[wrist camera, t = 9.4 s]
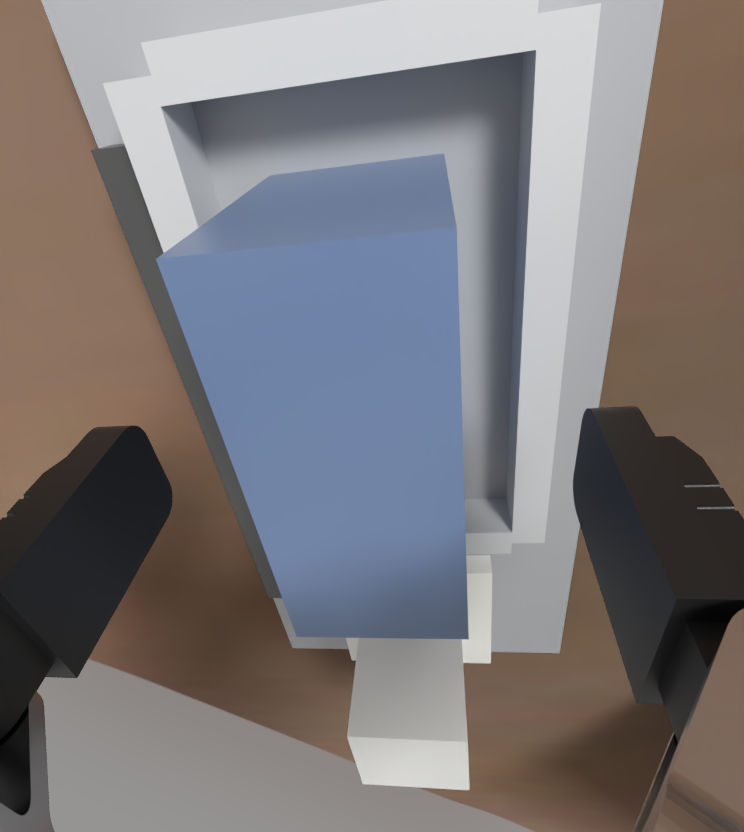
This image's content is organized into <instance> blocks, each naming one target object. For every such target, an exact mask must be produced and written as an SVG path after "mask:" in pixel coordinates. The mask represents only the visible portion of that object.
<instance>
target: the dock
mask: <svg viewBox="0 0 744 832" xmlns="http://www.w3.org/2000/svg"><path fill="white" fill-rule="evenodd" d="M41 1H42V4H43V6H44V9H45V11H46V14H47V16H48V19H49V22H50V24H51V27H52V29H53V32H54V34H55V37H56V40H57V42H58V45H59V47H60V50H61V53H62V55H63V58H64V60H65V63H66V65H67V68H68V71H69V73H70V76H71V78H72V81H73V83H74V86H75V89H76V91H77V94H78V96H79V99H80V101H81V104H82V107H83V109H84V112H85V114H86V117H87V120H88V122H89V125H90V127H91V130H92V132H93V135H94V138H95V140H96V143H97V145H98V149H94V150H91V152H92V154H93V157H94V159H95V162H96V164H97V167H98V169H99V172H100V174H101V177H102V179H103V182H104V184H105V187H106V189H107V192H108V194H109V197H110V200H111V202H112V205H113V207H114V210H115V212H116V215H117V217H118V220H119V222H120V225H121V227H122V230H123V232H124V235H125V237H126V240H127V242H128V245H129V247H130V250H131V252H132V255H133V257H134V260H135V263H136V265H137V268H138V270H139V273H140V275H141V278H142V280H143V283H144V285H145V288H146V290H147V293H148V295H149V298H150V300H151V303H152V305H153V308H154V310H155V313H156V315H157V318H158V321H159V323H160V326H161V328H162V331H163V333H164V336H165V338H166V341H167V343H168V346H169V348H170V351H171V353H172V356H173V358H174V361H175V363H176V366H177V368H178V371H179V373H180V376H181V379H182V381H183V384H184V386H185V389H186V391H187V394H188V396H189V399H190V401H191V404H192V406H193V409H194V411H195V414H196V416H197V419H198V421H199V424H200V426H201V429H202V431H203V434H204V437H205V439H206V442H207V444H208V447H209V449H210V452H211V454H212V457H213V459H214V462H215V464H216V467H217V469H218V472H219V474H220V477H221V479H222V482H223V484H224V487H225V489H226V492H227V495H228V497H229V500H230V502H231V505H232V507H233V510H234V512H235V515H236V517H237V520H238V522H239V525H240V527H241V530H242V532H243V535H244V537H245V540H246V542H247V545H248V547H249V550H250V552H251V555H252V558H253V560H254V563H255V565H256V568H257V570H258V573H259V575H260V578H261V580H262V583H263V585H264V588H265V590H266V593H267V595H268V598H273V599H274V601H275V604H276V607H277V609H278V612H279V614H280V617H281V619H282V622H283V625H284V627H285V630H286V632H287V635H288V638H289V640H290V643H291V645H292V648H311V649H349V652H350V656H351V659H352V660H356V665H355V673H354V682H353V690H352V698H351V707H350V715H349V724H348V732H347V738H348V741H349V744H350V747H351V750H352V753H353V756H354V759H355V762H356V765H357V768H358V771H359V774H360V777H361V779H362V783H363V784H371V785H388V786H405V787H422V788H439V789H456V790H469V763H468V738H467V721H466V703H465V686H464V669H463V663H491V652H526V653H560V647H561V641H562V634H563V628H564V622H565V616H566V609H567V603H568V597H569V590H570V584H571V578H572V572H573V565H574V559H575V553H576V547H577V540H578V534H579V528H580V523H579V520H578V517H577V513H576V509H575V504H574V497H573V476H574V469H575V462H576V456H577V449H578V443H579V436H580V430H581V423H582V418H583V414H584V412H585V410H586V409H587V408H599V403H600V396H601V390H602V384H603V377H604V371H605V365H606V359H607V352H608V346H609V340H610V334H611V327H612V321H613V315H614V309H615V302H616V296H617V290H618V284H619V277H620V271H621V265H622V258H623V252H624V246H625V240H626V233H627V227H628V221H629V215H630V208H631V202H632V196H633V190H634V183H635V177H636V171H637V164H638V158H639V152H640V146H641V139H642V133H643V127H644V121H645V114H646V108H647V102H648V96H649V89H650V83H651V77H652V71H653V64H654V58H655V52H656V45H657V39H658V33H659V27H660V20H661V14H662V8H663V2H664V0H41ZM443 153H444V156H445V162H446V168H447V174H448V179H449V185H450V191H451V197H452V203H453V209H454V215H455V220H456V226H457V254H458V289H459V323H460V357H461V392H462V426H463V461H464V495H465V529H466V564H467V598H468V633H469V639H409V638H341V637H297V636H296V634H295V631H294V628H293V626H292V623H291V620H290V618H289V615H288V612H287V610H286V607H285V604H284V601H283V599H282V596H281V593H280V591H279V588H278V585H277V583H276V580H275V577H274V575H273V572H272V569H271V567H270V564H269V561H268V559H267V556H266V553H265V550H264V548H263V545H262V542H261V540H260V537H259V534H258V532H257V529H256V526H255V524H254V521H253V518H252V516H251V513H250V510H249V508H248V505H247V502H246V500H245V497H244V494H243V491H242V489H241V486H240V483H239V481H238V478H237V475H236V473H235V470H234V467H233V465H232V462H231V459H230V457H229V454H228V451H227V449H226V446H225V443H224V441H223V438H222V435H221V432H220V430H219V427H218V424H217V422H216V419H215V416H214V414H213V411H212V408H211V406H210V403H209V400H208V398H207V395H206V392H205V390H204V387H203V384H202V382H201V379H200V376H199V373H198V371H197V368H196V365H195V363H194V360H193V357H192V355H191V352H190V349H189V347H188V344H187V341H186V339H185V336H184V333H183V331H182V328H181V325H180V322H179V320H178V317H177V314H176V312H175V309H174V306H173V304H172V301H171V298H170V296H169V293H168V290H167V288H166V285H165V282H164V280H163V277H162V274H161V272H160V269H159V266H158V263H157V261H156V258H158V257H159V256H161V255H162V254H163V253H165V252H166V251H167V250H169V249H170V248H172V247H173V246H174V245H176V244H177V243H178V242H180V241H181V240H182V239H184V238H185V237H187V236H188V235H189V234H191V233H192V232H193V231H195V230H196V229H197V228H199V227H200V226H202V225H203V224H204V223H206V222H207V221H208V220H210V219H211V218H212V217H214V216H215V215H217V214H218V213H219V212H221V211H222V210H223V209H225V208H226V207H227V206H229V205H230V204H232V203H233V202H234V201H236V200H237V199H238V198H240V197H241V196H242V195H244V194H245V193H247V192H248V191H249V190H251V189H252V188H253V187H255V186H256V185H257V184H259V183H260V182H262V181H263V180H264V179H266V178H267V177H268V176H270V175H277V174H285V173H293V172H301V171H308V170H316V169H324V168H332V167H340V166H348V165H356V164H364V163H372V162H380V161H388V160H396V159H403V158H411V157H419V156H427V155H435V154H443Z"/></svg>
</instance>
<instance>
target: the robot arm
mask: <svg viewBox="0 0 744 832" xmlns="http://www.w3.org/2000/svg"><path fill="white" fill-rule="evenodd" d="M573 497H574V504H575V509H576V513H577V517H578V520H579V523H580V526H581V529H582V532H583V536H584V539H585V542H586V545H587V548H588V552H589V555H590V558H591V561H592V564H593V567H594V571H595V574H596V577H597V580H598V583H599V586H600V590H601V593H602V596H603V599H604V602H605V606H606V609H607V612H608V615H609V618H610V621H611V625H612V628H613V631H614V634H615V637H616V640H617V644H618V647H619V650H620V653H621V656H622V660H623V663H624V666H625V669H626V672H627V675H628V679H629V682H630V685H631V688H632V691H633V694H634V698H635V701H636V703H642V704H664V706H665V708H666V711H667V714H668V717H669V720H670V722H671V725H672V728H673V731H674V732H673V734H672V736H671V737H670V740H669V742H668V745H667V747H666V750H665V752H664V755H663V757H662V760H661V762H660V764H659V767H658V769H657V772H656V774H655V777H654V779H653V782H652V784H651V787H650V789H649V791H648V794H647V796H646V799H645V801H644V804H643V806H642V809H641V811H640V814H639V816H638V818H637V821H636V823H635V826H634V828H633V831H632V832H744V519H743V517H742V516H741V514H740V513H739V511H735V510H734V504H733V502H732V501H731V499H730V498H729V496H728V495H727V493H726V492H725V490H724V489H723V488H720V487H719V482H718V480H717V479H716V477H715V476H714V474H713V473H712V471H711V470H710V468H709V467H708V465H707V464H706V462H705V461H704V459H703V458H702V457H701V456H700V455H699V454H697V453H696V452H694V451H693V450H692V449H690V448H689V447H688V446H686V445H685V444H684V443H682V442H681V441H680V440H678V439H677V438H675V437H674V436H664V437H655V435H654V433H653V431H652V430H651V428H650V426H649V425H648V423H647V421H646V419H645V418H644V416H643V414H642V413H641V411H640V410H639V409H638V408H637V407H609V408H587V409H586V410H585V412H584V414H583V418H582V423H581V430H580V436H579V443H578V449H577V456H576V462H575V469H574V476H573ZM171 507H172V489H171V486H170V483H169V481H168V479H167V477H166V475H165V472H164V470H163V468H162V466H161V464H160V462H159V460H158V458H157V456H156V454H155V452H154V450H153V447H152V445H151V443H150V441H149V439H148V437H147V435H146V433H145V432H144V431H143V430H142V429H141V428H140V427H138V426H114V427H97V428H94V429H92V430H91V431H90V432H89V433H88V434H87V435H86V436H85V437H84V438H83V439H82V440H81V441H80V443H79V444H78V445H77V446H76V447H75V448H74V449H73V450H72V451H71V453H70V454H69V455H68V456H67V457H66V458H64V459H63V460H62V461H60V462H59V463H57V464H56V465H54V466H53V467H52V468H50V469H49V470H47V471H46V472H44V473H43V474H42V475H41V476H40V477H39V479H38V480H37V481H36V482H35V483H34V484H33V485H32V486H31V487H30V488H29V489H28V491H27V492H26V493H25V494H24V499H19V500H18V501H17V502H16V504H15V505H14V506H13V507H12V508H11V509H10V510H9V511H8V512H7V517H6V518H2V519H1V520H0V832H54V829H53V826H52V823H51V818H50V812H49V792H48V774H47V754H46V735H45V716H44V704H43V700H42V698H41V696H40V695H39V694H38V693H37V692H36V691H37V689H38V688H39V686H40V684H41V683H42V681H43V680H44V678H45V677H63V678H77V677H78V676H79V674H80V672H81V670H82V668H83V667H84V665H85V663H86V661H87V660H88V658H89V656H90V654H91V653H92V651H93V649H94V647H95V645H96V644H97V642H98V640H99V638H100V637H101V635H102V633H103V631H104V630H105V628H106V626H107V624H108V622H109V621H110V619H111V617H112V615H113V614H114V612H115V610H116V608H117V607H118V605H119V603H120V601H121V599H122V598H123V596H124V594H125V592H126V591H127V589H128V587H129V585H130V583H131V582H132V580H133V578H134V576H135V575H136V573H137V571H138V569H139V568H140V566H141V564H142V562H143V560H144V559H145V557H146V555H147V553H148V552H149V550H150V548H151V546H152V545H153V543H154V541H155V539H156V537H157V536H158V534H159V532H160V530H161V529H162V527H163V525H164V523H165V522H166V520H167V518H168V516H169V514H170V511H171Z"/></svg>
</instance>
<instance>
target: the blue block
mask: <svg viewBox="0 0 744 832" xmlns="http://www.w3.org/2000/svg"><path fill="white" fill-rule="evenodd" d="M156 261H157V263H158V266H159V269H160V272H161V274H162V277H163V280H164V282H165V285H166V288H167V290H168V293H169V296H170V298H171V301H172V304H173V306H174V309H175V312H176V314H177V317H178V320H179V322H180V325H181V328H182V331H183V333H184V336H185V339H186V341H187V344H188V347H189V349H190V352H191V355H192V357H193V360H194V363H195V365H196V368H197V371H198V373H199V376H200V379H201V382H202V384H203V387H204V390H205V392H206V395H207V398H208V400H209V403H210V406H211V408H212V411H213V414H214V416H215V419H216V422H217V424H218V427H219V430H220V432H221V435H222V438H223V441H224V443H225V446H226V449H227V451H228V454H229V457H230V459H231V462H232V465H233V467H234V470H235V473H236V475H237V478H238V481H239V483H240V486H241V489H242V491H243V494H244V497H245V500H246V502H247V505H248V508H249V510H250V513H251V516H252V518H253V521H254V524H255V526H256V529H257V532H258V534H259V537H260V540H261V542H262V545H263V548H264V550H265V553H266V556H267V559H268V561H269V564H270V567H271V569H272V572H273V575H274V577H275V580H276V583H277V585H278V588H279V591H280V593H281V596H282V599H283V601H284V604H285V607H286V610H287V612H288V615H289V618H290V620H291V623H292V626H293V628H294V631H295V634H296V636H297V637H341V638H409V639H469V633H468V598H467V564H466V529H465V495H464V461H463V426H462V392H461V357H460V323H459V289H458V254H457V226H456V220H455V215H454V209H453V203H452V197H451V191H450V185H449V179H448V174H447V168H446V162H445V156H444V153H443V154H435V155H427V156H419V157H411V158H403V159H396V160H388V161H380V162H372V163H364V164H356V165H348V166H340V167H332V168H324V169H316V170H308V171H301V172H293V173H285V174H277V175H270V176H268V177H267V178H266V179H264V180H263V181H262V182H260V183H259V184H257V185H256V186H255V187H253V188H252V189H251V190H249V191H248V192H247V193H245V194H244V195H242V196H241V197H240V198H238V199H237V200H236V201H234V202H233V203H232V204H230V205H229V206H227V207H226V208H225V209H223V210H222V211H221V212H219V213H218V214H217V215H215V216H214V217H212V218H211V219H210V220H208V221H207V222H206V223H204V224H203V225H202V226H200V227H199V228H197V229H196V230H195V231H193V232H192V233H191V234H189V235H188V236H187V237H185V238H184V239H182V240H181V241H180V242H178V243H177V244H176V245H174V246H173V247H172V248H170V249H169V250H167V251H166V252H165V253H163V254H162V255H161V256H159V257H158V258H156Z"/></svg>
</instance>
